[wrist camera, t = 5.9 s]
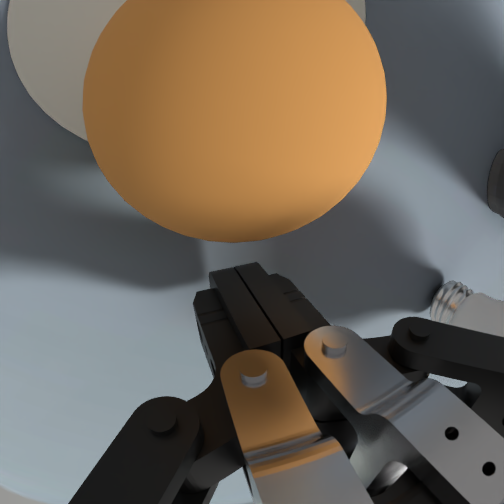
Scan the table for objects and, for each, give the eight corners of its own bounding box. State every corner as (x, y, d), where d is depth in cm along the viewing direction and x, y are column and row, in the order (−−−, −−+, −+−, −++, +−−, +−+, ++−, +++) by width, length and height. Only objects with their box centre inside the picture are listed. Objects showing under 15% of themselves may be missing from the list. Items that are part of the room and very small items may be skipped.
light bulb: (394, 287, 15) (554, 424, 5) (467, 225, 15) (609, 314, 6) (401, 355, 18) (506, 464, 9) (463, 299, 19) (567, 382, 10)
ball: (337, 237, 9) (266, 83, 10) (504, 132, 4) (338, -54, 4) (133, 301, 7) (93, 110, 8) (40, 194, 2) (75, -65, 2)
